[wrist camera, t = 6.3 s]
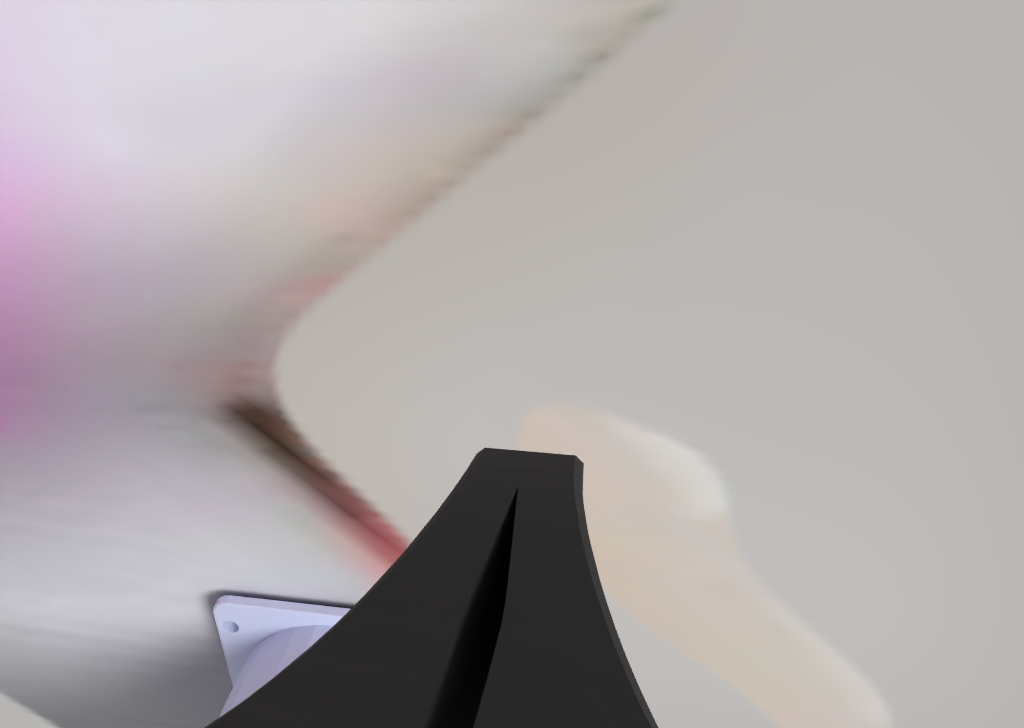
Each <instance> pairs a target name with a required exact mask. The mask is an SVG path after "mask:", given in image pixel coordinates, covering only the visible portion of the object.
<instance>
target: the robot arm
mask: <svg viewBox="0 0 1024 728" xmlns="http://www.w3.org/2000/svg"><path fill="white" fill-rule="evenodd" d="M583 466H584V463H583V462H582V461H580V460H579V459H578V458H577V457H576V456H574V455H562V454H551V453H539V452H528V451H516V450H505V449H493V448H484V449H483V450H481V451H480V452H479V453H477V454H476V456H475V458H474V459H473V461H472V462H471V464H470V466H469V467H468V469H467V470H466V472H465V473H464V475H463V476H462V478H461V479H460V480H459V482H458V484H457V485H456V486H455V488H454V489H453V491H452V492H451V493H450V495H449V496H448V497H447V499H446V500H445V501H444V503H443V504H442V505H441V507H440V508H439V509H438V511H437V512H436V513H435V515H434V516H433V517H432V518H431V520H430V521H429V522H428V523H427V524H426V526H425V527H424V528H423V529H422V531H421V532H420V533H419V534H418V536H417V537H416V538H415V539H414V541H413V542H412V543H411V544H410V545H409V547H408V548H407V549H406V550H405V551H404V553H403V554H402V555H401V556H400V557H399V558H398V559H397V561H396V562H395V563H394V564H393V565H392V566H391V567H390V568H389V569H388V570H387V571H386V573H385V574H384V575H383V576H382V577H381V578H380V579H379V580H378V581H377V582H376V583H375V584H374V586H373V587H372V588H371V589H370V590H369V591H368V592H367V593H366V594H365V595H364V596H363V597H362V598H361V599H360V600H359V601H358V602H357V603H356V604H355V605H354V606H353V607H352V608H351V609H349V608H340V607H331V606H322V605H313V604H304V603H295V602H286V601H277V600H268V599H259V598H250V597H241V596H232V595H225V596H222V597H219V599H218V600H217V602H216V604H215V605H214V607H213V614H214V618H215V622H216V626H217V629H218V633H219V637H220V641H221V644H222V648H223V652H224V656H225V659H226V663H227V667H228V671H229V674H230V678H231V682H232V685H233V688H232V690H231V692H230V694H229V697H228V699H227V701H226V703H225V705H224V707H223V709H222V711H221V713H220V715H219V718H218V719H216V720H215V721H214V722H212V723H211V724H209V725H208V726H206V727H205V728H658V726H657V724H656V723H655V720H654V718H653V716H652V714H651V712H650V709H649V708H648V705H647V703H646V701H645V699H644V697H643V695H642V692H641V690H640V688H639V686H638V684H637V681H636V679H635V676H634V674H633V672H632V669H631V667H630V665H629V662H628V660H627V658H626V655H625V652H624V650H623V647H622V645H621V642H620V639H619V637H618V634H617V631H616V629H615V626H614V623H613V620H612V617H611V614H610V611H609V608H608V605H607V602H606V599H605V596H604V592H603V589H602V586H601V582H600V579H599V575H598V571H597V567H596V563H595V560H594V556H593V552H592V548H591V544H590V539H589V534H588V530H587V524H586V517H585V511H584V504H583V494H582V492H583Z"/></svg>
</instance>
